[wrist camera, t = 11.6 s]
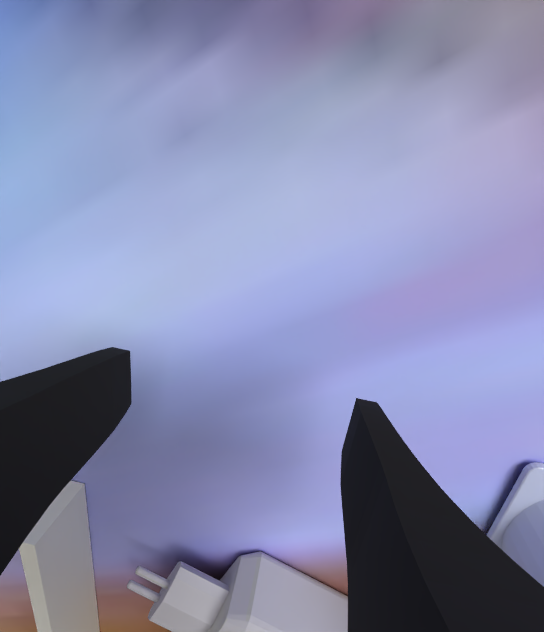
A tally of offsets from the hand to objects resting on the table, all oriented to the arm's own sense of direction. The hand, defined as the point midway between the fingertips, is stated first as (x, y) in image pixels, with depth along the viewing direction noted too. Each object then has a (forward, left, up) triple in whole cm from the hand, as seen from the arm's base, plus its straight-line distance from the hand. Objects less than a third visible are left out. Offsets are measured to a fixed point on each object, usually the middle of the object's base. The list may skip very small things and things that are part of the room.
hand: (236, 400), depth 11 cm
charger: (-1, +19, -6) cm, 20 cm away
